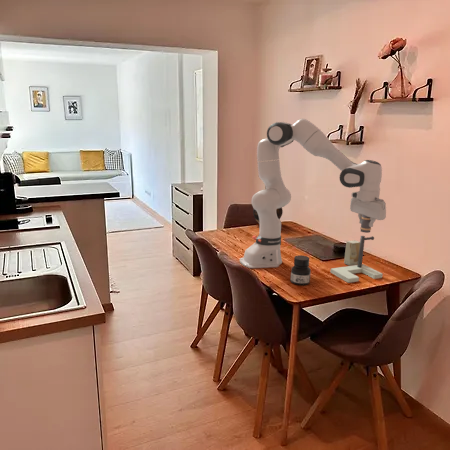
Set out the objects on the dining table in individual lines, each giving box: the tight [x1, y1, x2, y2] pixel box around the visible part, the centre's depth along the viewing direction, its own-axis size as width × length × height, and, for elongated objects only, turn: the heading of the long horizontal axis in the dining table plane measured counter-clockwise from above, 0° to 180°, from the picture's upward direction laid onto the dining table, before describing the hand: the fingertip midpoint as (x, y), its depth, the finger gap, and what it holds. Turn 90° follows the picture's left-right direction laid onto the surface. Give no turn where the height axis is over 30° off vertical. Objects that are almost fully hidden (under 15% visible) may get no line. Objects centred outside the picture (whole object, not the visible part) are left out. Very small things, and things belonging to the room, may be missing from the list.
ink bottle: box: [290, 254, 312, 286], centre depth 191 cm, size 10×9×12 cm
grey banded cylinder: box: [360, 215, 372, 234], centre depth 194 cm, size 5×5×8 cm
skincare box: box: [343, 240, 360, 266], centre depth 217 cm, size 6×4×12 cm
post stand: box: [329, 235, 383, 283], centre depth 201 cm, size 22×14×18 cm, turn 111°
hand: (365, 225), depth 194 cm, fingers closed on grey banded cylinder, 4 cm apart
